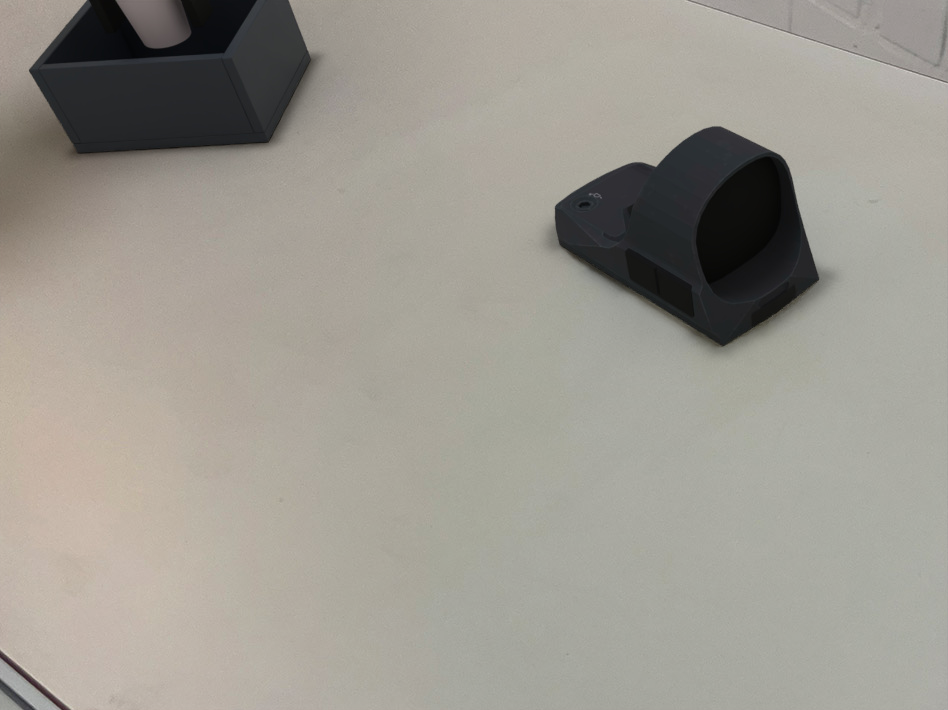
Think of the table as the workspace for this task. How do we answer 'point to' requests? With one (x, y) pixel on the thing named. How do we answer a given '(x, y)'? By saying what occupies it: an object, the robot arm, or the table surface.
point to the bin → (174, 79)
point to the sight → (697, 232)
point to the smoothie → (157, 21)
